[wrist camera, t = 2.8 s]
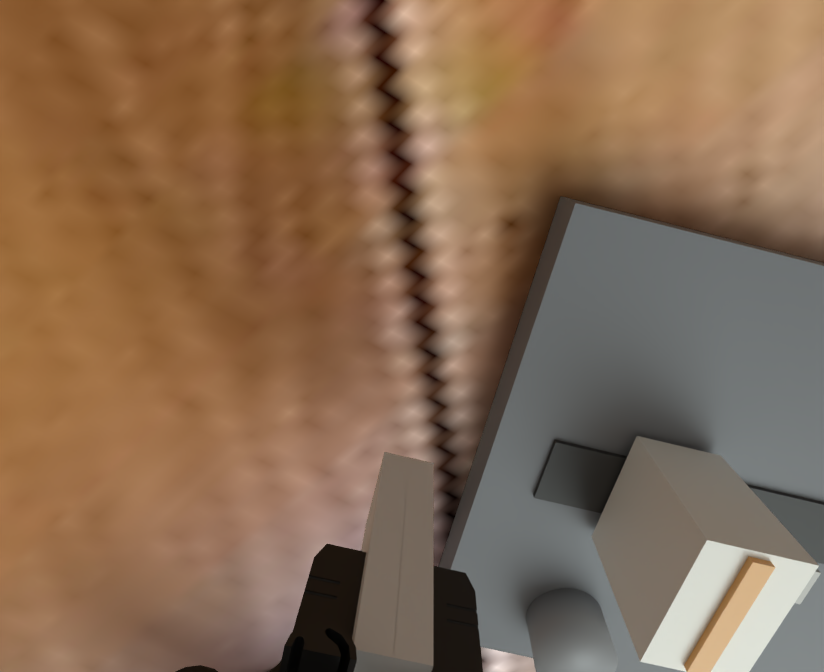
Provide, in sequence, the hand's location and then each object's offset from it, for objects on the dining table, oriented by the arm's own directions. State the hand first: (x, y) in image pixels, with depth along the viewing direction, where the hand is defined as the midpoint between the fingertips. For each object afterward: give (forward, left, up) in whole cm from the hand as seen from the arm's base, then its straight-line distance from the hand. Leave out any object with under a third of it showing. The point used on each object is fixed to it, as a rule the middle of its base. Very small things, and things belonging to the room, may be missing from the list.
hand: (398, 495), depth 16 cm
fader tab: (0, +9, -3) cm, 9 cm away
